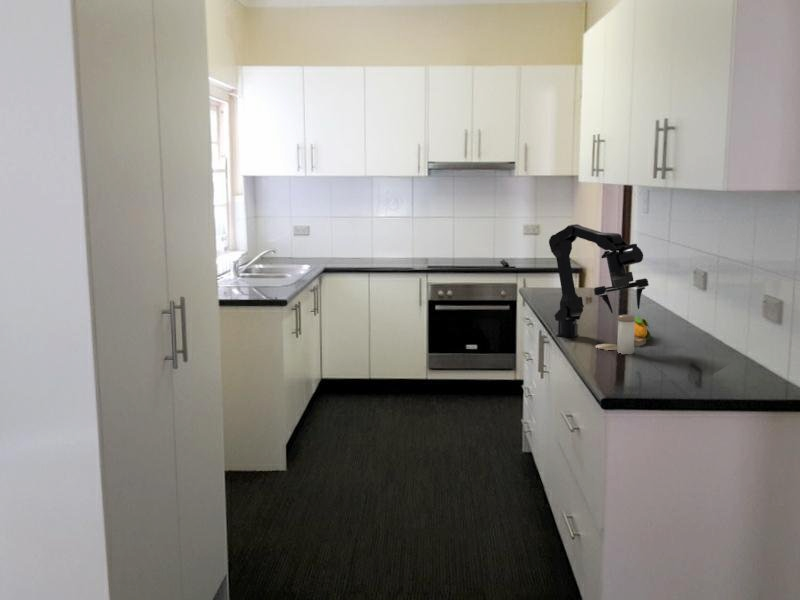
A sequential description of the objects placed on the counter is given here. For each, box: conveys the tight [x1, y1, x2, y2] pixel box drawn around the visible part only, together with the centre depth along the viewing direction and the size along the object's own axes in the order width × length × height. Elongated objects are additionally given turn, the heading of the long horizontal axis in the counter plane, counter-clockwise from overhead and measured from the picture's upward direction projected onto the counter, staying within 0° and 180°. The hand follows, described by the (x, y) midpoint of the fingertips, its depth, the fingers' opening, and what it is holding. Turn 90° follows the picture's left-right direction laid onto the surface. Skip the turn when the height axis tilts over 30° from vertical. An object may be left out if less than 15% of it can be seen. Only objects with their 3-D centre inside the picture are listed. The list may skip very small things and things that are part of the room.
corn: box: [634, 316, 651, 341], centre depth 311 cm, size 7×8×20 cm
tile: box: [634, 337, 647, 347], centre depth 302 cm, size 6×6×2 cm
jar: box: [616, 314, 636, 355], centre depth 288 cm, size 6×6×13 cm
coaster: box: [595, 343, 617, 351], centre depth 297 cm, size 9×9×1 cm
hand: (625, 311), depth 294 cm, fingers open, 9 cm apart
